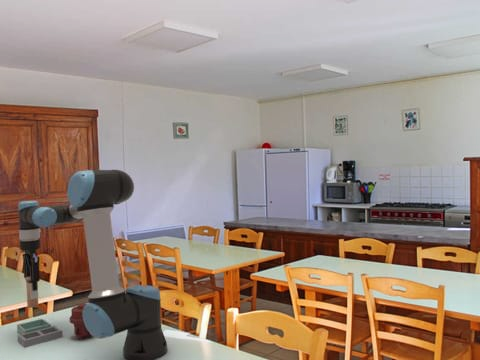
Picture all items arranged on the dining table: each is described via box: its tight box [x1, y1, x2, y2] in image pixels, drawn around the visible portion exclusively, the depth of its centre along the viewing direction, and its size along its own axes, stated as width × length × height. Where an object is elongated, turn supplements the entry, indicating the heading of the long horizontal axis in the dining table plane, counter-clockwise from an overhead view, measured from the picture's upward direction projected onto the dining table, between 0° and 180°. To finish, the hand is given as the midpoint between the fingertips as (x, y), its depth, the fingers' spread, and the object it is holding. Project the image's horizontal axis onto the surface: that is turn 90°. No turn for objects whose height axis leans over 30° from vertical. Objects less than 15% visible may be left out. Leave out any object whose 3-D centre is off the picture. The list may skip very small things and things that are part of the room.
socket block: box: [17, 325, 64, 348], centre depth 174 cm, size 8×14×2 cm, turn 132°
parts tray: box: [16, 318, 52, 335], centre depth 182 cm, size 10×10×3 cm
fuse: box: [25, 276, 39, 309], centre depth 182 cm, size 4×4×12 cm
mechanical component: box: [68, 303, 93, 341], centre depth 175 cm, size 12×10×10 cm
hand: (32, 297), depth 182 cm, fingers closed on fuse, 4 cm apart
